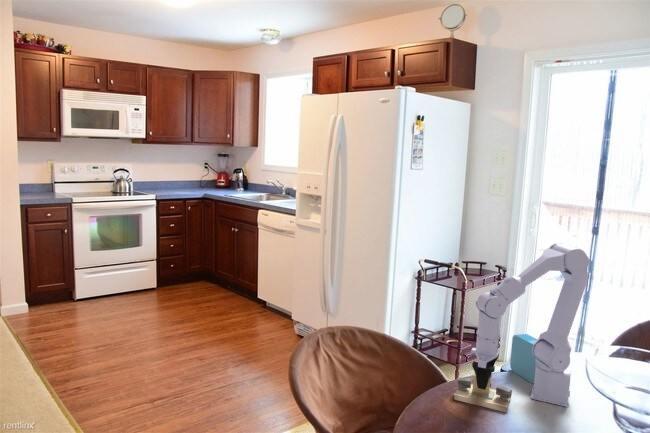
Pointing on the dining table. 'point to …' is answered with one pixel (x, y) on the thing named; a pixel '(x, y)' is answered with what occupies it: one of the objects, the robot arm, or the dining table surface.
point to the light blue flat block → (523, 356)
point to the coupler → (481, 391)
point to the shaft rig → (495, 400)
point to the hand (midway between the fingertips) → (483, 383)
